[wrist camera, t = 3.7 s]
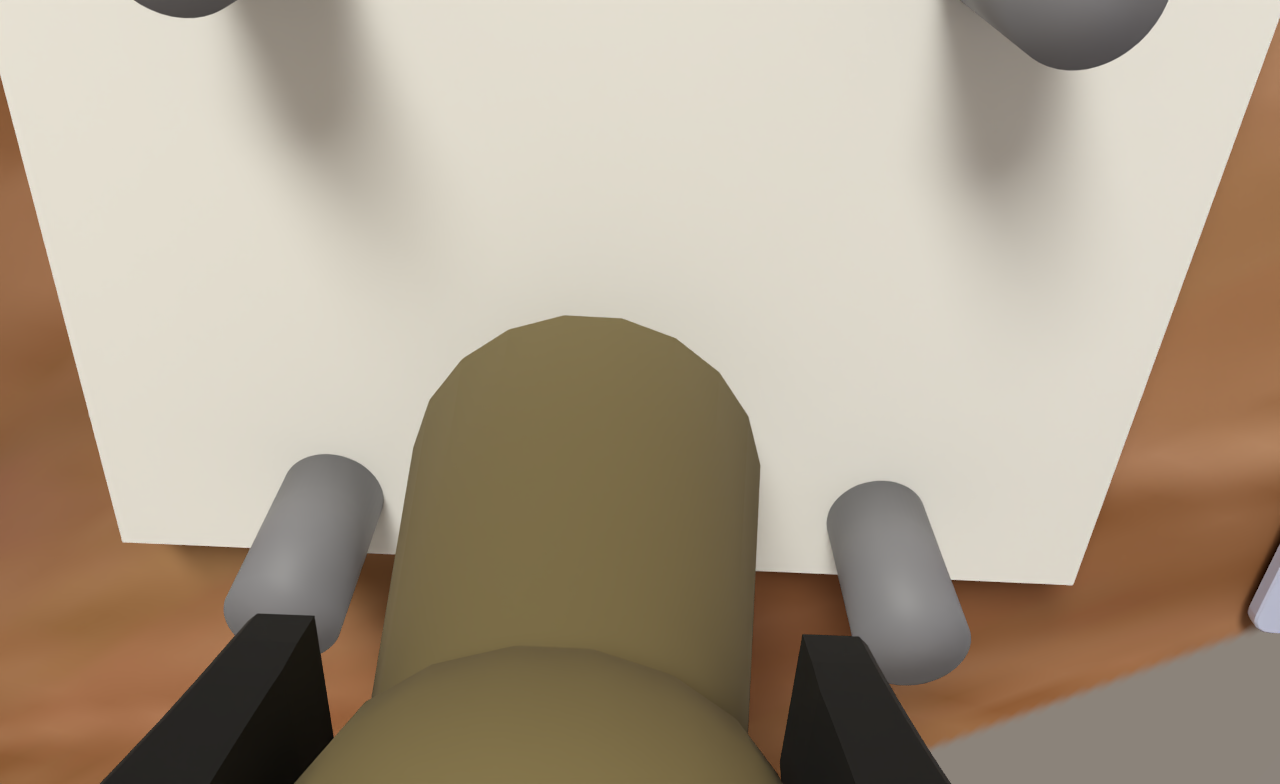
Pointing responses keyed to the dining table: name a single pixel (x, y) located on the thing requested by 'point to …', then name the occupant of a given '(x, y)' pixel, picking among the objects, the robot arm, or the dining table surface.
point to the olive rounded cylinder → (569, 574)
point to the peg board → (630, 255)
